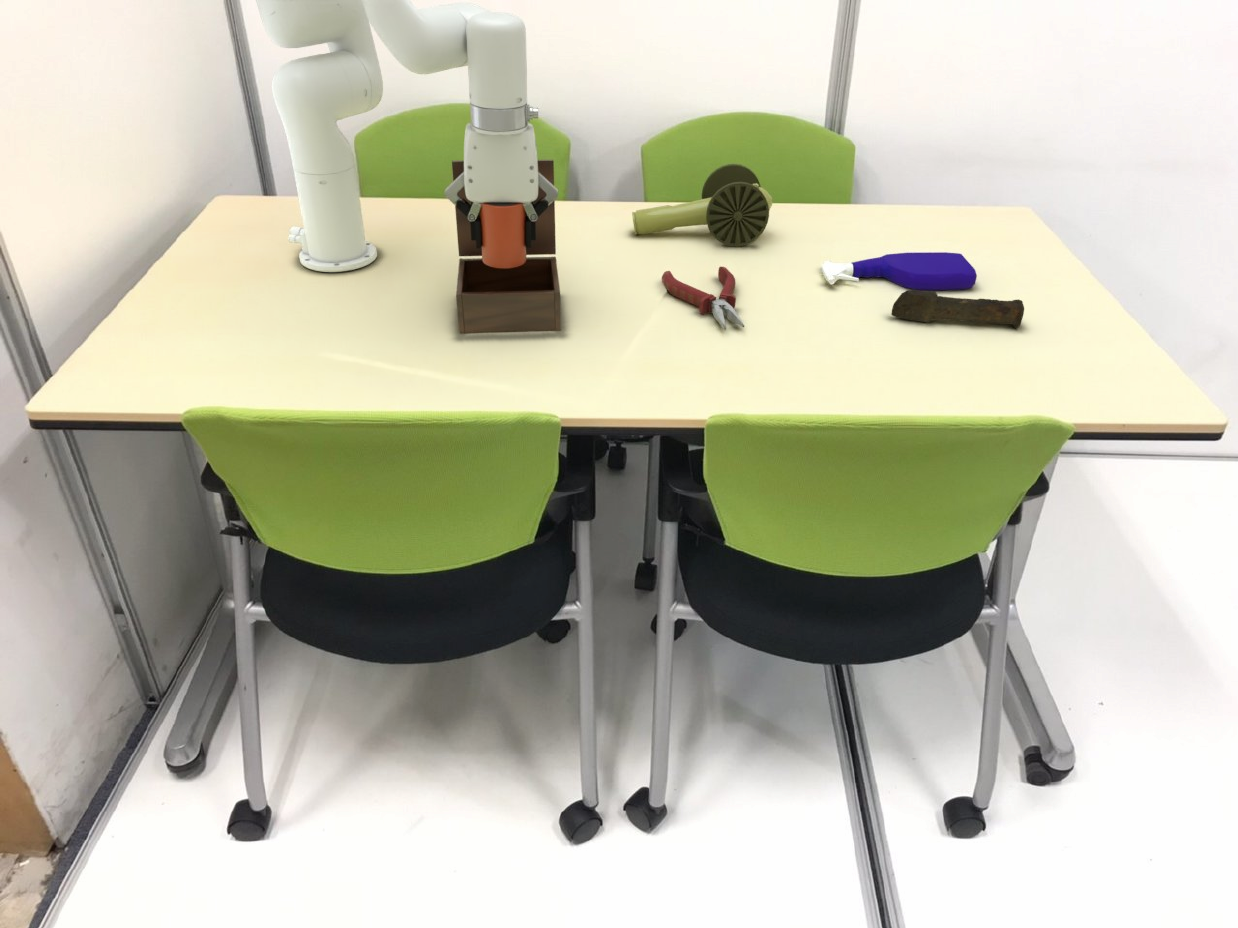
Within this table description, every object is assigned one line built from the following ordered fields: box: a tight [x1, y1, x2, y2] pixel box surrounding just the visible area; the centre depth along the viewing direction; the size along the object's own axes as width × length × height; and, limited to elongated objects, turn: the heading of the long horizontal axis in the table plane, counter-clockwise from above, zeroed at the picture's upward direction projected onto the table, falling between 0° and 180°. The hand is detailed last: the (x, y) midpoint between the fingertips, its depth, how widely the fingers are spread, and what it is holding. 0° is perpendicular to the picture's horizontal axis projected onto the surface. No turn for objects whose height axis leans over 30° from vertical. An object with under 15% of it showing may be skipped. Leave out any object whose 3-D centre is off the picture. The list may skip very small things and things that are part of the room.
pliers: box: [661, 266, 745, 331], centre depth 144 cm, size 12×20×3 cm, turn 14°
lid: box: [451, 158, 557, 257], centre depth 139 cm, size 14×15×5 cm
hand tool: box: [890, 289, 1025, 329], centre depth 141 cm, size 19×4×5 cm, turn 82°
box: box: [455, 256, 562, 335], centre depth 138 cm, size 13×15×7 cm
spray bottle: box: [820, 251, 978, 291], centre depth 154 cm, size 3×11×24 cm
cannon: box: [631, 163, 773, 248], centre depth 166 cm, size 25×12×11 cm, turn 90°
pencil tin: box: [480, 203, 527, 268], centre depth 132 cm, size 6×6×9 cm
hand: (503, 243), depth 134 cm, fingers closed on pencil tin, 6 cm apart
